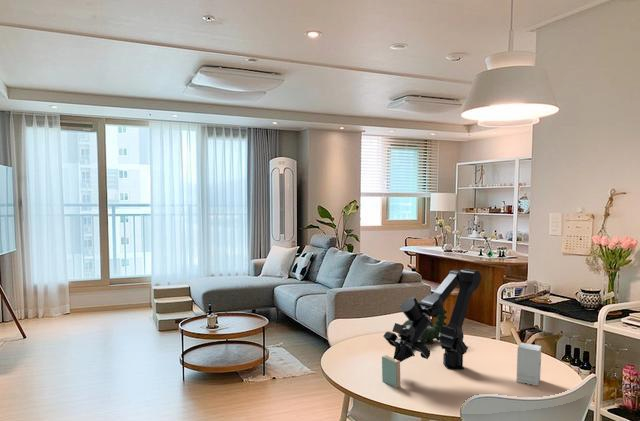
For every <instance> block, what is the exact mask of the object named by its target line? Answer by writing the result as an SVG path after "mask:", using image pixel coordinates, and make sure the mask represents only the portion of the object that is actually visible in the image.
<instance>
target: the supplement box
mask: <svg viewBox="0 0 640 421" xmlns="http://www.w3.org/2000/svg"><path fill="white" fill-rule="evenodd" d="M516 352H517V355H516V356H517V358H516V382H517V383H520V384H525V383H527V384H526V385H530V384H532V385H531V386H535V385H538V386H539V384H540V381H541V372H542V370H541V368H542V367H541V366H542V346H541V345H538V344H533V343H532V344H530V343H524V342H520V343H519V345H518V346H517V351H516Z"/></svg>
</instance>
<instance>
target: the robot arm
mask: <svg viewBox="0 0 640 421" xmlns="http://www.w3.org/2000/svg"><path fill="white" fill-rule="evenodd" d="M482 279H483V278H482V275H481V273H480V271H478V270H475V269H469V268H463V269H460V270H457V269H452V270H451V269H450V270H449V271H448V275H446V277H445V278H444V280H443V281H442V282H441V284H439V285H438V286H437V288H436V289H435V291H434V292H432V293H431V294H428V295H426V296H425V297H424V298H423V299H421V301H420V302H418V299H417V297H414V296H410V298H409V299H405V300H404V301H403V302H402V303H401V304H400V307H399V308H400V311H401V312H402V313H403V315H404V316H405V317H406V318H407V320H410V321H412V322H411V323H410V325H405V326H403V324H401V323H396V322H395V323H394V325H393V327H392V331H385V333H384V335H383V338H384V339H385V340H386V341H387V343H388V344H389V345H390V346H392V347H394V354H393V358H394V359H396V360H399V361H400V363H402V362H403V361H405V360H408V359H409V358H411V357H415V355H416V354H415V353H416V352H418V353H420V357H421V358H422V359H426V360H429V358H430V356H431V350H430V349H429V348H428V347H427V345H426V343H425V344H423V343H421V341H419V339H423V338H424V337H423V336H422V335H423V333H424V332H425V330H426V328H432V327H433V325H434V323H433V319H431V318H437V317H438V316H439V315H440V313H441V311H442V309H443V308H444V305H445V304H444V303H445V302H446V299H448V297H450V295H452V294H451V293H453V291H454V290H455V289H456V288H457V286H458V287H459V288H458V289H459V290H458V293H457V296H456V300H455V302H454V305H453V306H454V307H453V309H452V311H451V312H452V313H451V315H450V319H449V323H448V324H446V326H443V327H442V329H441V333H439V336H440V338H439V342H440V347H441V349H442V350H444V352H443V357H442V359H443V360H442V363H443V365H444V366H445V367H446V369H447V370H464V369H465V367H464V365H463V364H464V355H465V354H466V353H467V352H468V345H466V343H465V342H464V332H463V325H464V322H465V317H466V315H467V311H468V308H469V305H470V302H471V301H470V300H471V297H472V295H473V293H474V292H475V291H476V290H477V289H478V288H479V287H480V283H481V281H482ZM429 317H431V318H429Z"/></svg>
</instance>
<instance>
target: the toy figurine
mask: <svg viewBox="0 0 640 421" xmlns="http://www.w3.org/2000/svg"><path fill="white" fill-rule="evenodd" d="M446 314H448V311H447V310H446V309H445V308H444V307H443V309H442V311H441V313H440V315H439V316H438V317H436V319H435V320H434V323H433V327H427V328H426V330H425V332H424V333H423V335H422V336H423V337H424V338H423V339H419V341H418V342H420V343H423V344H425V345H426V344H427V342H428V343H429V344H431V345H433V344H434V343H435V341H434V340H436V341H438V342H440V340H439V338H440V336H439V335H440V333H441V329H442V327H443V326H447V323H446V322H445V320H447V319H448V318H447V316H446ZM411 322H412V321H410V320H408V319H407V320H405V321H404V322H403V324H402V325H403V326H405V325H410V323H411Z"/></svg>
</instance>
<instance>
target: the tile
mask: <svg viewBox="0 0 640 421" xmlns="http://www.w3.org/2000/svg"><path fill="white" fill-rule="evenodd" d="M381 370H382V371H381V374H382V375H381V378H382V380H381V381H382V382H383V383H385V384H386V385H389V386H392V387H394V388H396V389H398V388H401V362H400V361H399V360H396V359H394V357H391V356H389V355H387V354H386V355H382V356H381Z"/></svg>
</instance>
